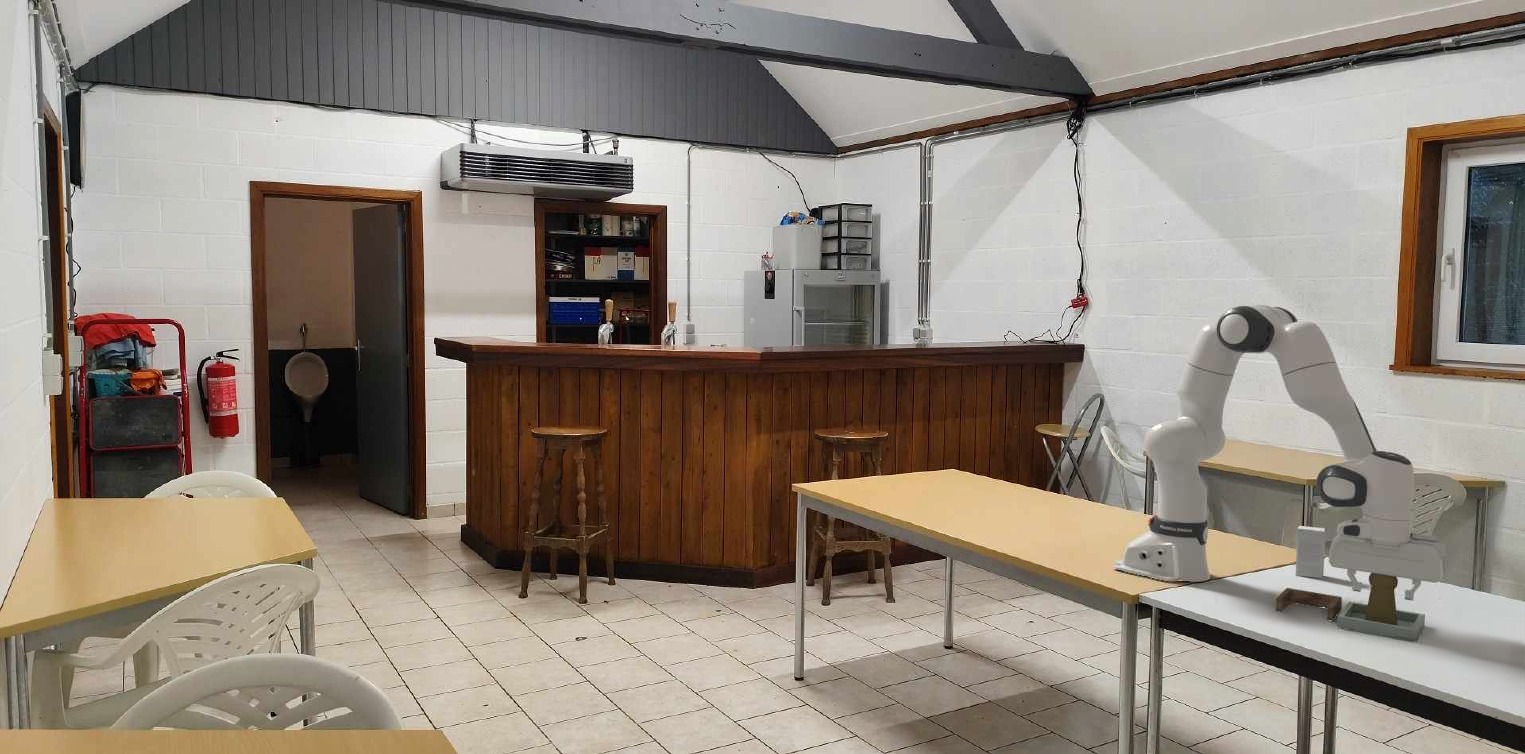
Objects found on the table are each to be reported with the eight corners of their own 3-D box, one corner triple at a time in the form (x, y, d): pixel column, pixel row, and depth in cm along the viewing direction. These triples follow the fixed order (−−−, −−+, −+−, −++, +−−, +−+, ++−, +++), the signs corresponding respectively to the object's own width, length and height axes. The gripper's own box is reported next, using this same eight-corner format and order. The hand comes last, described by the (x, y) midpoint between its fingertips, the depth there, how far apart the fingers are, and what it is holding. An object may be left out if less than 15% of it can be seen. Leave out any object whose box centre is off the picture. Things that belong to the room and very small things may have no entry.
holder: (1275, 611, 221) (1276, 597, 221) (1286, 600, 230) (1287, 587, 229) (1332, 621, 215) (1333, 607, 214) (1341, 610, 223) (1341, 597, 222)
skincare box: (1323, 575, 252) (1326, 528, 251) (1322, 579, 249) (1325, 531, 248) (1296, 571, 255) (1298, 525, 255) (1294, 575, 252) (1297, 528, 251)
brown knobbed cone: (1370, 626, 209) (1373, 574, 208) (1359, 618, 215) (1362, 567, 214) (1402, 629, 208) (1405, 577, 207) (1391, 620, 214) (1394, 569, 213)
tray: (1337, 627, 210) (1337, 616, 210) (1348, 612, 221) (1349, 601, 221) (1416, 642, 202) (1417, 630, 202) (1424, 625, 213) (1425, 614, 212)
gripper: (1448, 535, 206) (1443, 601, 207) (1334, 520, 219) (1331, 583, 220) (1444, 540, 201) (1440, 608, 202) (1329, 525, 214) (1325, 589, 215)
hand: (1382, 595), depth 211 cm, fingers open, 8 cm apart
